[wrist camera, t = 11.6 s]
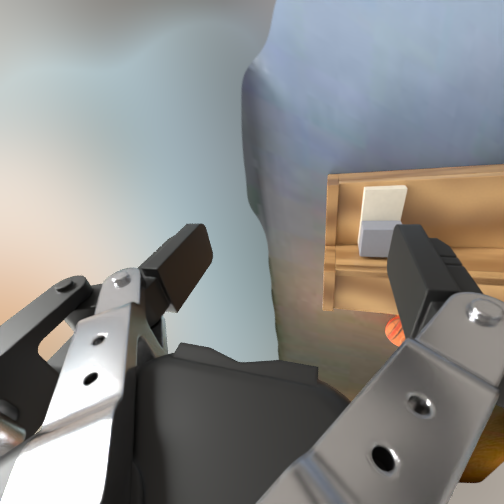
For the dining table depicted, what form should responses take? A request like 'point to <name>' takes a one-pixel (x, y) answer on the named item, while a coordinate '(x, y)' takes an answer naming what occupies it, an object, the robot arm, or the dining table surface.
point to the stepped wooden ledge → (415, 212)
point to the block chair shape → (379, 218)
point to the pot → (395, 331)
